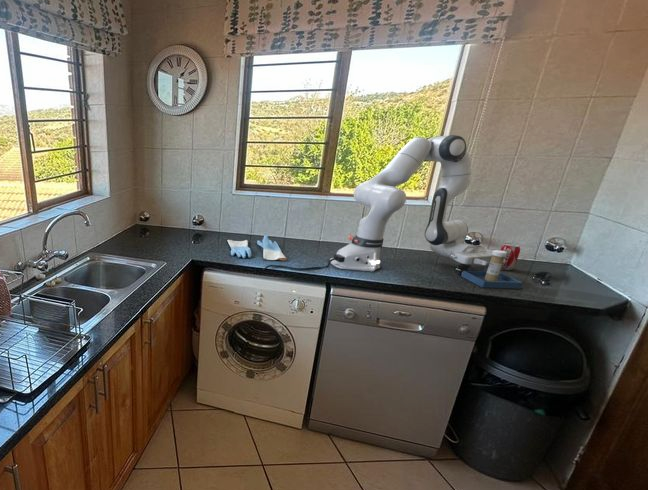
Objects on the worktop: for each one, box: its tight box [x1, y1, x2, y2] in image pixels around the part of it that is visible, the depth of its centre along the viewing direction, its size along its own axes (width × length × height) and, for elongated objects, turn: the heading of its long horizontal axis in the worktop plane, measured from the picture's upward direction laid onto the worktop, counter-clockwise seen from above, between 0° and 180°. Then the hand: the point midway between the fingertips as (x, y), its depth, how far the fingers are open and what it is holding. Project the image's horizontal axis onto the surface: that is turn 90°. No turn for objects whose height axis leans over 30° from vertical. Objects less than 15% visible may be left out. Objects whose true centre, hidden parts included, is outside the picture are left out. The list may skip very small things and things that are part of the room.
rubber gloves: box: [227, 234, 288, 261], centre depth 216 cm, size 27×33×6 cm
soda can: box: [499, 242, 521, 271], centre depth 191 cm, size 7×7×12 cm
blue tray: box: [460, 270, 523, 290], centre depth 176 cm, size 16×14×3 cm
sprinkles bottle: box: [484, 249, 507, 281], centre depth 174 cm, size 5×5×14 cm
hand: (495, 263), depth 173 cm, fingers open, 8 cm apart
